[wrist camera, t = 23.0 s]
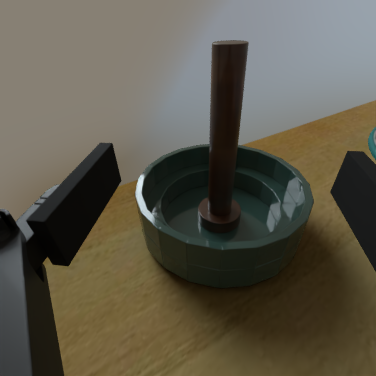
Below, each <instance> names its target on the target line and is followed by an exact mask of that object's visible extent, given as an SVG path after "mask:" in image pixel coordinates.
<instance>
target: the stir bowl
mask: <svg viewBox="0 0 376 376" xmlns="http://www.w3.org/2000/svg"><path fill="white" fill-rule="evenodd" d="M209 145H210V144H205V145H196V146H192V147H187V148H182V149H178V150H176V151H173V152H171V153H168V154H166V155H163V156H162V157H160V158H159V159H157V160H156V161H154V162H153V163H151V164H150V165H149V166H148V167H147V168H146V169H145V171H144V172H143V173H142V175H141V176H140V177H139V179H138V182H137V187H136V192H135V198H136V203H137V207H138V212H139V217H140V221H141V226H142V231H143V234H144V237H145V241H146V244H147V247H148V249H149V251H150V252H151V253H152V254H153V255H154V257H155V258H156V259H157V260H158V261H159V262H160V264H161V265H162V266H163V267H164V268H166V269H168V270H169V271H171V272H173V273H175V274H176V275H178V276H180V277H182V278H183V279H185V280H187V281H189V282H194V283H198V284H203V285H207V286H212V287H216V288H228V287H242V286H251V285H253V284H256V283H258V282H261V281H263V280H266V279H268V278H270V277H273V276H275V275H277V274H278V273H279V272H280V271H281V270H282V269H283V268H284V267H285V266H286V265H287V264H288V263H289V262H290V261H291V260H292V259H293V258H294V255H295V253H296V250H297V247H298V245H299V242H300V239H301V237H302V234H303V232H304V229H305V226H306V224H307V221H308V218H309V215H310V212H311V209H312V206H313V203H314V200H313V196H312V192H311V188H310V184H309V183H308V182H307V181H306V179H305V178H304V177H303V176H302V174H301V173H300V172H299V171H298V170H297V169H296V168H294V167H293V166H292V165H290V164H289V163H287V162H286V161H284V160H283V159H281V158H279V157H276V156H274V155H272V154H269V153H267V152H264V151H261V150H258V149H254V148H250V147H246V146H241V145H238V148H237V158H236V167H235V177H234V187H233V196H232V199H234V200H235V201H236V202H237V203H238V204H239V205H240V208H241V216H240V222H239V224H238V226H237V227H236V228H235V229H234V230H232V231H230V232H226V233H215V232H211V231H209V230H207V229H205V228H204V227H203V226H202V225H201V224H200V222H199V219H198V207H199V204H200V203H201V201H202V200H204V199H205V198H207V197H208V185H209Z"/></svg>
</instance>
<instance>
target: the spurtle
mask: <svg viewBox="0 0 376 376" xmlns="http://www.w3.org/2000/svg"><path fill="white" fill-rule="evenodd" d="M247 51H248V42H247V41H236V40H233V41H232V40H231V41H217V42H213V43H212V65H211V66H212V68H211V105H210V107H211V108H210V145H209V185H208V197H207V198H205V199H204V200H202V201H201V203H200V204H199V207H198V219H199V222H200V224H201V225H202V226H203V227H204V228H205V229H207V230H209V231H211V232H215V233H226V232H230V231H232V230H234V229H235V228H236V227H237V226H238V224H239V222H240V216H241V208H240V205H239V204H238V203H237V202H236V201H235V200H234V199H232V196H233V187H234V177H235V167H236V158H237V148H238V139H239V138H238V137H239V129H240V128H239V127H240V119H241V110H242V100H243V90H244V80H245V71H246V61H247Z"/></svg>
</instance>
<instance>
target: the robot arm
mask: <svg viewBox="0 0 376 376" xmlns="http://www.w3.org/2000/svg"><path fill="white" fill-rule="evenodd" d="M120 182H121V177H120V173H119V169H118V165H117V161H116V157H115V153H114V148H113V144H112V143H100V144H99V145H98V146H97V147H96V148H95V149H94V150H93V151H92V152H91V153H90V154H89V155H88V156H87V157H86V158H85V159H84V160H83V161H82V162H81V163H80V164H79V165H78V167H77V168H76V169H75V170H74V171H73V172H72V173H71V174H70V175H69V176H68V177H67V178H66V179H65V180H64V181H63V182H62V183H61V184H60V185H55V186H54V187H52V188H50V189H48V190H47V191H46V192H45V193H44V194H43V195H42V196H41V197H40V199H38V200H37V201H36V202H35V203H34V204H33V205H32V206H31V207H30V208H29V209H28V210H27V211H26V212H25V213H24V214H23V215H22V216H21V217H20V218H19V219H18V220H17V221H16V222H15V220H14V219H13V217H12V216H11V214H10V213H9V211H7V210H5V209H0V376H64V371H63V365H62V360H61V354H60V348H59V343H58V337H57V331H56V326H55V320H54V314H53V309H52V303H51V297H50V291H49V286H48V280H47V274H46V269H45V266H44V265H43V262H44V261H45V259H46V258H47V256H48V258H49V259H50V261H51V263H52V264H53V265H62V266H69V265H70V263H71V261H72V260H73V258H74V257H75V255H76V253H77V252H78V250H79V248H80V247H81V245H82V244H83V242H84V240H85V239H86V237H87V236H88V234H89V232H90V231H91V229H92V228H93V226H94V224H95V223H96V221H97V219H98V218H99V216H100V215H101V213H102V211H103V210H104V208H105V207H106V205H107V203H108V202H109V200H110V198H111V197H112V195H113V194H114V192H115V190H116V189H117V187H118V186H119V184H120ZM330 193H331V194H332V196H333V198H334V200H335V201H336V203H337V205H338V207H339V208H340V210H341V212H342V214H343V215H344V217H345V219H346V221H347V222H348V224H349V226H350V228H351V229H352V231H353V233H354V235H355V236H356V238H357V240H358V242H359V243H360V245H361V247H362V249H363V250H364V252H365V254H366V256H367V257H368V259H369V261H370V263H371V264H372V266H373V268H374V270H375V271H376V164H375V163H374V162H373V161H372V160H371V159H370V158H369V157H368V156H367V155H366V154H365V153H364V152H360V151H347V154H346V156H345V158H344V161H343V163H342V165H341V168H340V170H339V173H338V175H337V177H336V180H335V182H334V184H333V187H332V189H331V192H330Z"/></svg>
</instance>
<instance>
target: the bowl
mask: <svg viewBox="0 0 376 376" xmlns="http://www.w3.org/2000/svg"><path fill="white" fill-rule="evenodd" d="M368 146H369V150H370V152H371V154H372V156H373V157H374V158H375V160H376V127H375V128H374V129H373V131H372V132H371V133H370V136H369V139H368Z"/></svg>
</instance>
